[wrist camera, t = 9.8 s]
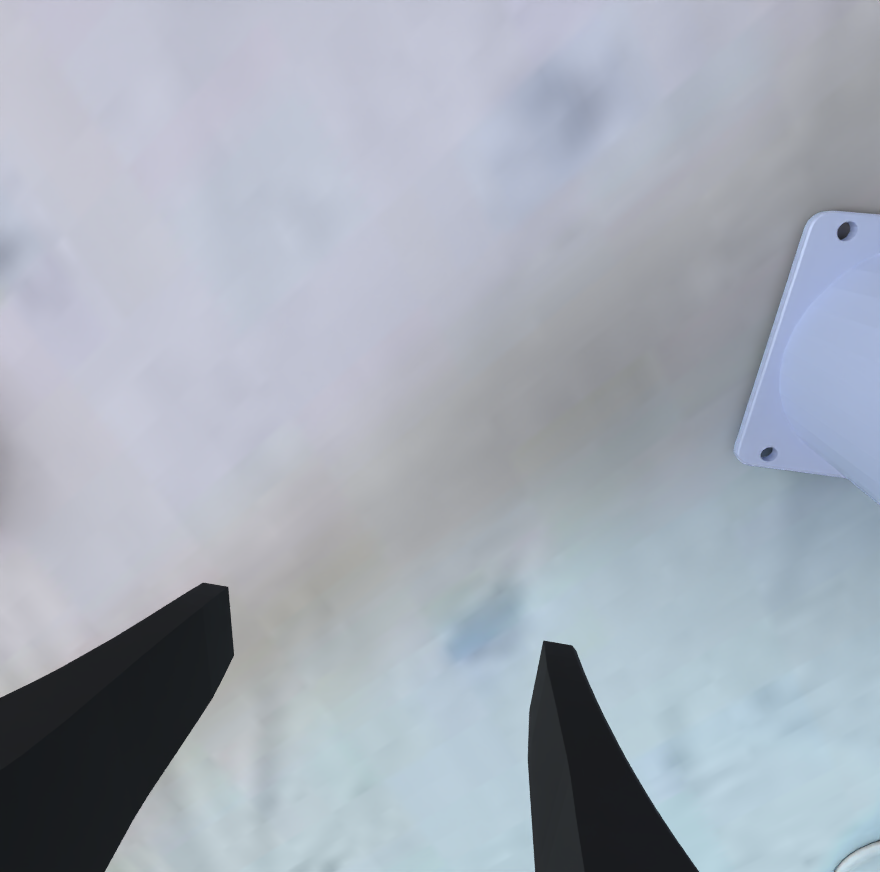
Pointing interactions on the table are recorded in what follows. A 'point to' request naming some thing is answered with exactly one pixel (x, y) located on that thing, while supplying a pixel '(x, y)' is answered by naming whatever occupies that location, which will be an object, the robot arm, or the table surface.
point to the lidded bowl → (862, 860)
